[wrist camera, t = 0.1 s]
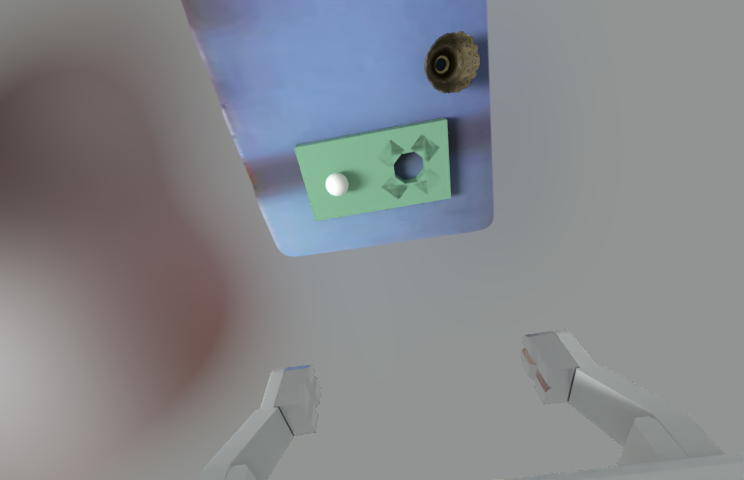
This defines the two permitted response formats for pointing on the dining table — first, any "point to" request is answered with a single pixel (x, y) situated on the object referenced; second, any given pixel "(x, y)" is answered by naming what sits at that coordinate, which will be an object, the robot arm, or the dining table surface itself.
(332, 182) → the ball
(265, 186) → the dining table surface
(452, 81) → the cup
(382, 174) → the putting mat
